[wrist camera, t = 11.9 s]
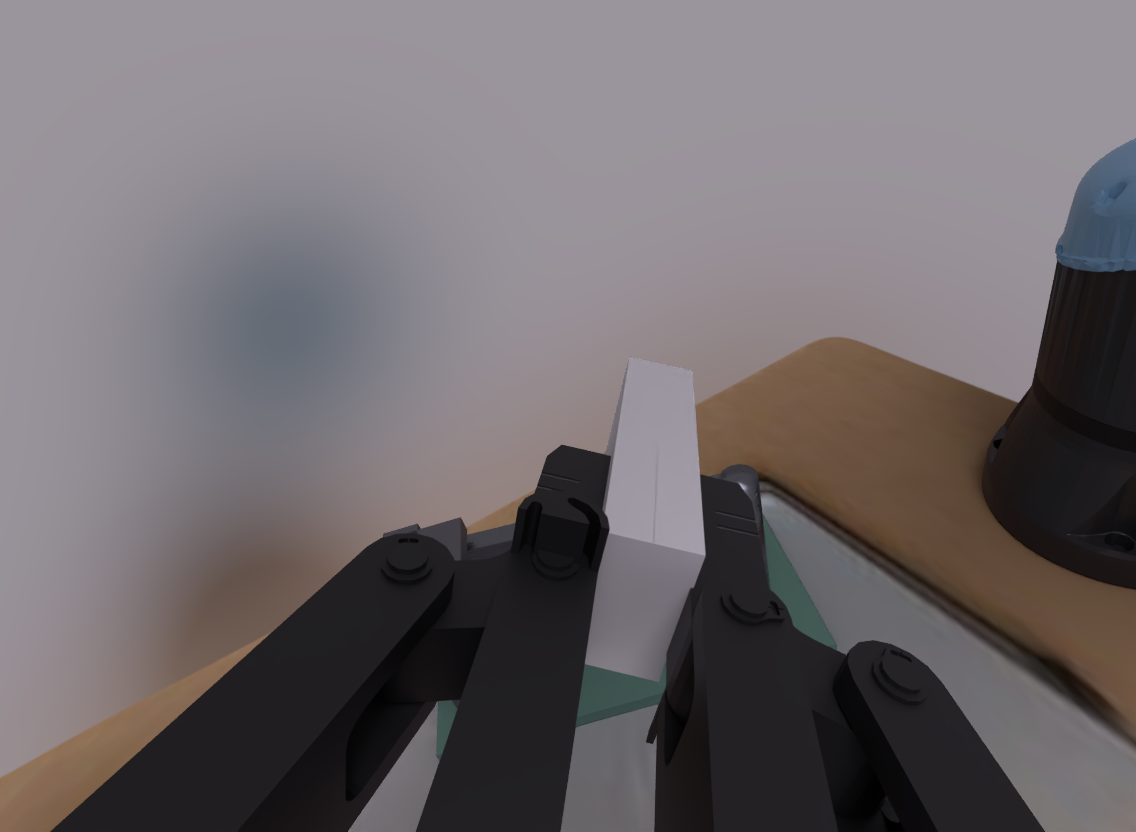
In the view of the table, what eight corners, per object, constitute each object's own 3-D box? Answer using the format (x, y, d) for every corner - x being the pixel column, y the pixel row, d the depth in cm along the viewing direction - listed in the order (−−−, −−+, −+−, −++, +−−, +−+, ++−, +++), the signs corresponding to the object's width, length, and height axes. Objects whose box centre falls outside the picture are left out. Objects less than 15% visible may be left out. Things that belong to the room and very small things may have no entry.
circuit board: (760, 516, 48) (759, 507, 47) (836, 653, 38) (836, 644, 38) (446, 606, 49) (441, 599, 48) (442, 763, 39) (436, 756, 39)
